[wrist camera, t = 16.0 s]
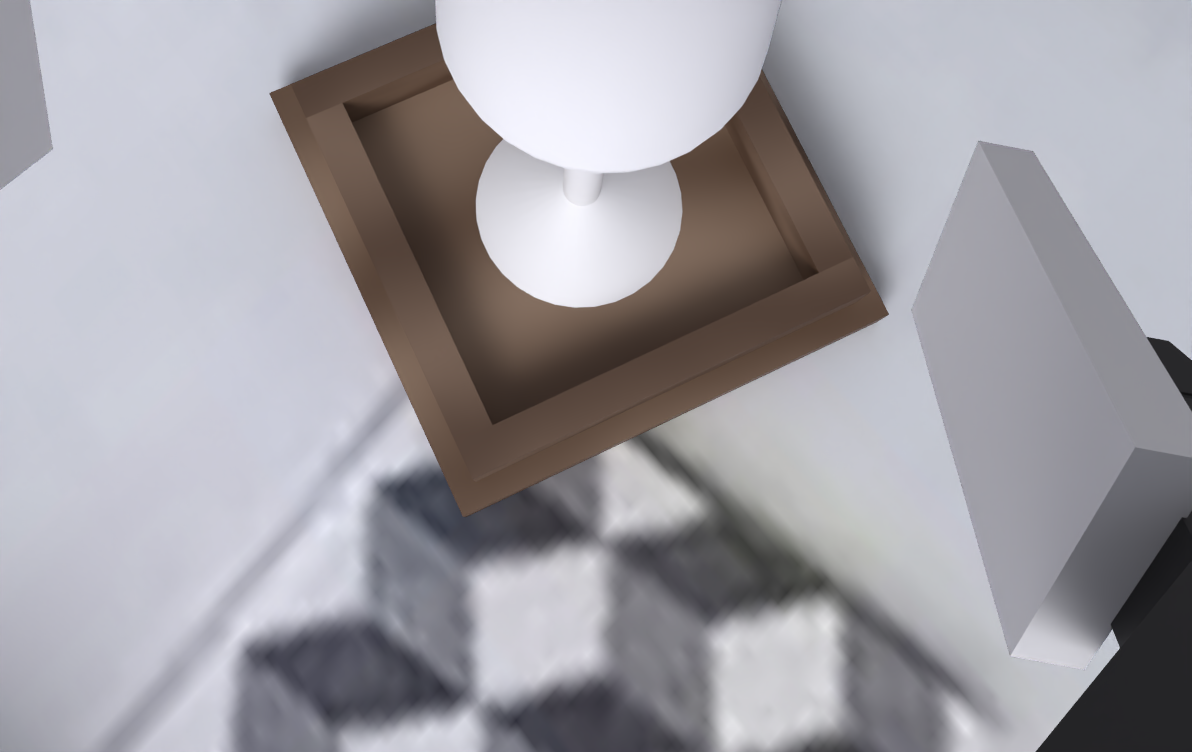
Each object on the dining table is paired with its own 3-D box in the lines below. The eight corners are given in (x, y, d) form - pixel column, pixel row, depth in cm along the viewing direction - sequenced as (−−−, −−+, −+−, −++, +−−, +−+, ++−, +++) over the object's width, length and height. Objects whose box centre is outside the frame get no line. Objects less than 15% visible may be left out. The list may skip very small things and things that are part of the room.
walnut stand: (877, 321, 35) (905, 303, 32) (465, 517, 33) (458, 515, 31) (679, -61, 37) (690, -109, 34) (278, 107, 35) (255, 72, 32)
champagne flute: (686, 113, 35) (1011, -797, 11) (680, 313, 34) (1023, -200, 10) (480, 100, 34) (349, -865, 10) (468, 303, 33) (294, -256, 10)
